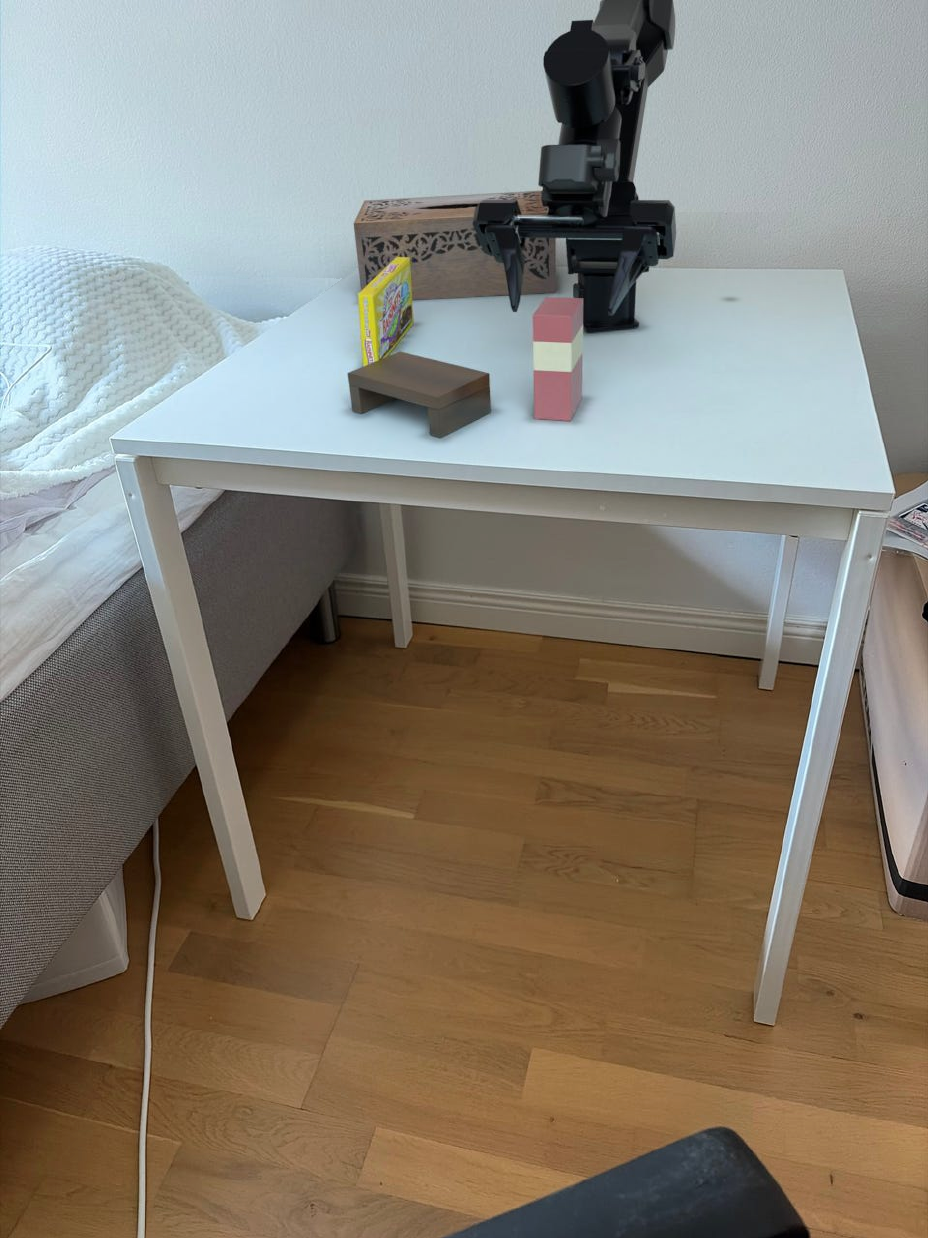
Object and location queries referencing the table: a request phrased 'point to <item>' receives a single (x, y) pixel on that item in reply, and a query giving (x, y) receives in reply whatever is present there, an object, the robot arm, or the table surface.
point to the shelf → (423, 389)
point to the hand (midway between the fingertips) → (561, 311)
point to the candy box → (385, 310)
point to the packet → (557, 358)
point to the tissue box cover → (447, 246)
